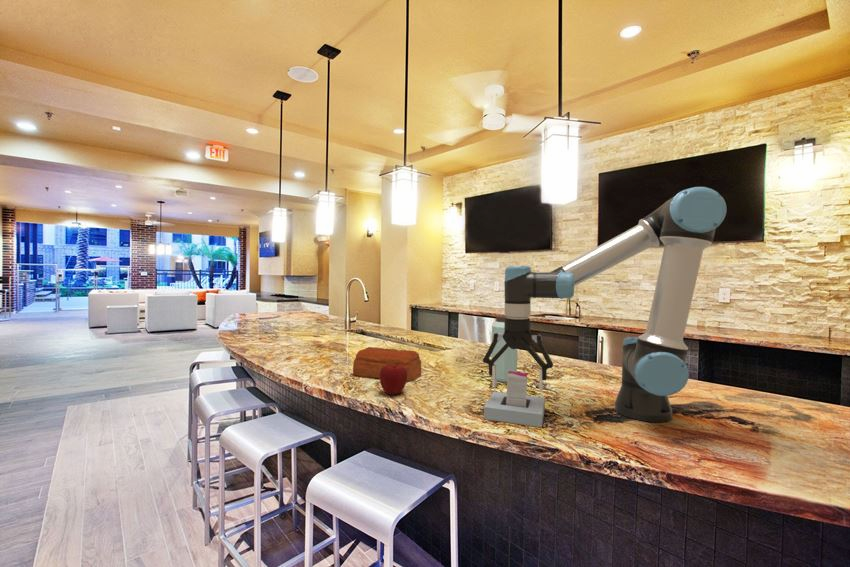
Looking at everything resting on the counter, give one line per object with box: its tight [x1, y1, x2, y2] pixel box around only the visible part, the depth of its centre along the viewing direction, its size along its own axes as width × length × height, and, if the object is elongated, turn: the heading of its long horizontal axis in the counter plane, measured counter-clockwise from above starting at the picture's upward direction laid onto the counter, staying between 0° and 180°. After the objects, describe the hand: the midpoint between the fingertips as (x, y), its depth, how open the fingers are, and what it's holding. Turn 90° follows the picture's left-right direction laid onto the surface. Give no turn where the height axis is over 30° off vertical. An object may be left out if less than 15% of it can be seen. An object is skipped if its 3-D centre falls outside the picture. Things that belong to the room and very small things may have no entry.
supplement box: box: [506, 371, 528, 408], centre depth 115 cm, size 6×6×12 cm
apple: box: [379, 364, 407, 396], centre depth 133 cm, size 10×10×10 cm
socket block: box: [483, 391, 546, 428], centre depth 115 cm, size 16×16×4 cm
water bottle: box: [490, 315, 518, 383], centre depth 153 cm, size 10×10×25 cm
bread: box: [352, 346, 422, 383], centre depth 158 cm, size 16×27×11 cm, turn 69°
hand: (517, 388), depth 115 cm, fingers open, 13 cm apart
